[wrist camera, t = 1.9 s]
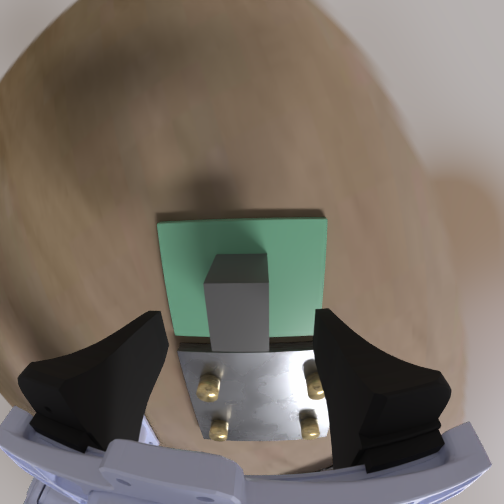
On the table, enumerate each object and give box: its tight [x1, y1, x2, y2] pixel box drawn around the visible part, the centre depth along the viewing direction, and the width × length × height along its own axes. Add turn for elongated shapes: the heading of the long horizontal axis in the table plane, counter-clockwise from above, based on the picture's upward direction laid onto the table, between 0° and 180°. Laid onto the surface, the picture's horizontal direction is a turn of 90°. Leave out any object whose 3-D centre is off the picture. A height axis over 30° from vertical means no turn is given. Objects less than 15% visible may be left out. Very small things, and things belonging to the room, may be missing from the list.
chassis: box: [177, 341, 329, 441], centre depth 20 cm, size 12×12×2 cm
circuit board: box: [157, 217, 327, 352], centre depth 15 cm, size 10×8×5 cm
